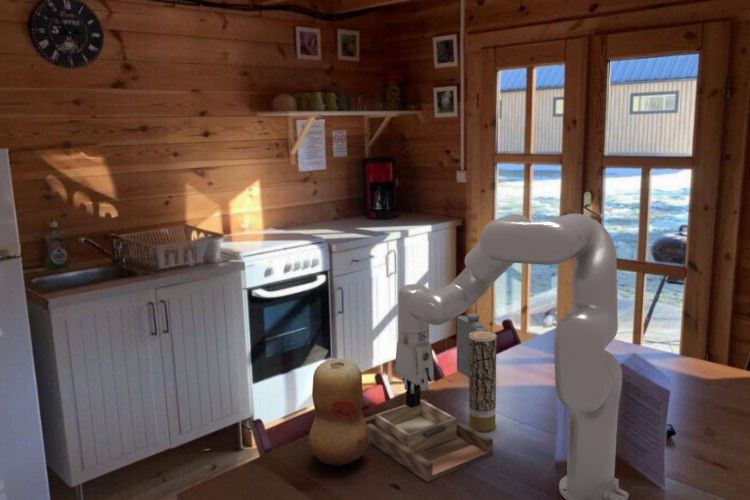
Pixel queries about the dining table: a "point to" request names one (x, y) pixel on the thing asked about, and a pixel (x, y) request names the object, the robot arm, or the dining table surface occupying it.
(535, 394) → the dining table surface
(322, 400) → the butternut squash
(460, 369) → the hip flask
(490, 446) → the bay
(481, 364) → the wooden log
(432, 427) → the crate
